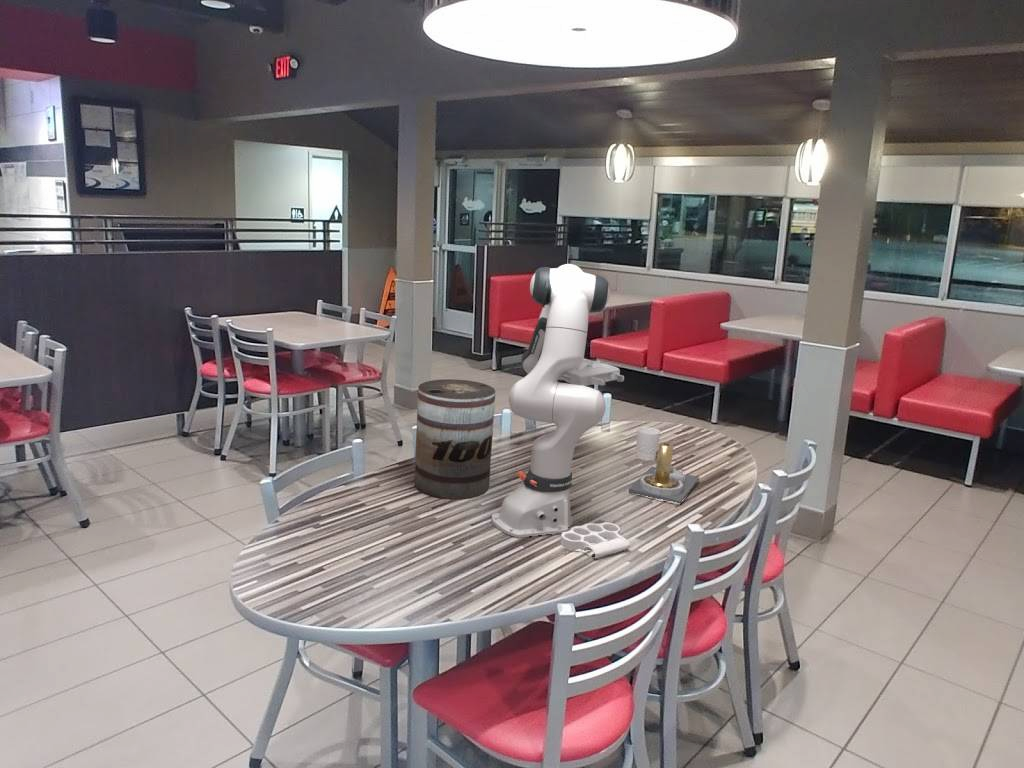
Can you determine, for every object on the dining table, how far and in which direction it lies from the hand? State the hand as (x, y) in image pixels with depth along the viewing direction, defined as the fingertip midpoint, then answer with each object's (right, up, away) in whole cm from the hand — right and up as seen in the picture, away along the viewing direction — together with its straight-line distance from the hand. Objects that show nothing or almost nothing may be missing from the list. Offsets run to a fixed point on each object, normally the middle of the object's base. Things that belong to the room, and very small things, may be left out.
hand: (613, 380), depth 236 cm
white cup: (+15, -27, +28) cm, 42 cm away
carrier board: (+16, -34, +2) cm, 37 cm away
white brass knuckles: (-11, -43, -40) cm, 60 cm away
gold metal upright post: (+14, -33, -3) cm, 36 cm away
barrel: (-50, -32, -9) cm, 60 cm away
